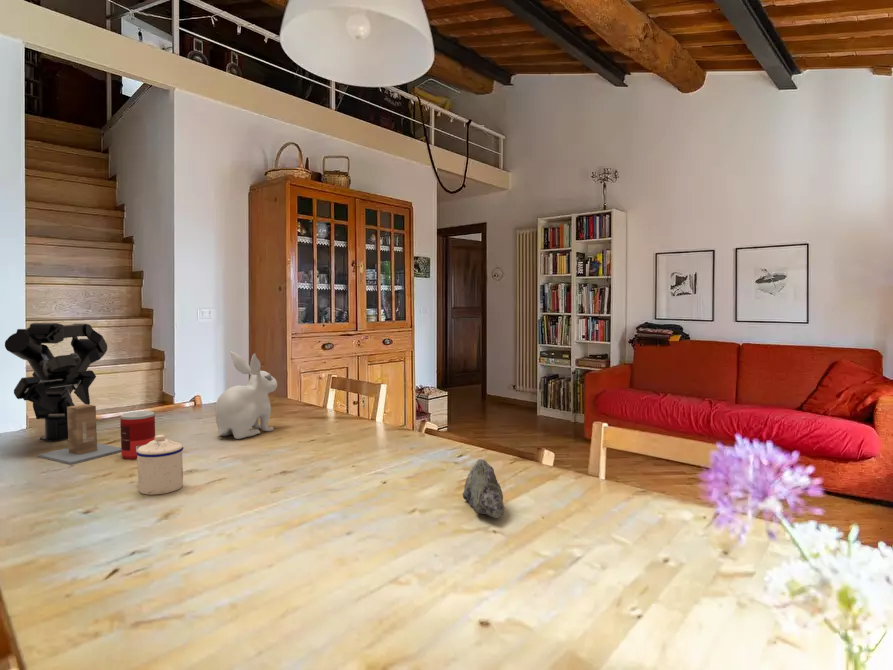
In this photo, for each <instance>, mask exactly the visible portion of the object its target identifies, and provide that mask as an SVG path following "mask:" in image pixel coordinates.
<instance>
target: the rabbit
mask: <svg viewBox="0 0 893 670" xmlns="http://www.w3.org/2000/svg"><path fill="white" fill-rule="evenodd" d="M229 353H230V356H231V361H232V363H233V366H234V367H235V369H236V370H237V372H239V373H241V374H243V375H249V376H250V377H249V380H248V381H247V383H246V385H235V386H234V385H233V386H231V387H229V388H228V389H226V390H225V391H224V392H222V393H221V394H220V395H219V396H218V398H217V400H216V403H215V423H216V426H217V431H218V435H219V436H224V437H225V436H230V435H233V438H234V439H236V440H241V439H245V438H249V437H253V436H256V435H257V434H258V435H259V434H261V431H260V430H259V429H261V430H262V431H263V432H272V431H273V432H274V430H275V429H274V427H273V426H269V420H270V417H271V414H272V413H271V412H272V405H271V401H270V397H269V393H270V394H271V393H273V392H274V391H276V389H277V387H278V381H277V379H276V378H275V377H274V376H272V375H271V373H270V372H267V371H265V370H261V367H262V366H261V365H262V364H261V362H260V359H258V357H257V353H256V352H255V353H253V354H252V356H251V360H250V362H249V363H250V364H249V363H248V362H247V361H246V360H245V358H243V357H242V356H241V355H239V354H238V353H237V352H235V351H232V350H230V351H229ZM259 419H260V420H259ZM259 421H260V424H259Z"/></svg>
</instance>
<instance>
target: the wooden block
mask: <svg viewBox="0 0 893 670" xmlns="http://www.w3.org/2000/svg"><path fill="white" fill-rule="evenodd" d="M96 406H97V405H94V404H89V405H88V404H84V403H83V404H77V405H76V404H75V406H70V407H67V419H68V439H67V440H68V441H67V442H68V448H69V453H73V454H77V455H81V454H85V453H89V452H94V451H97V443H98V439H97V438H98V434H97V433H98V432H97V431H98V430H97V410H96Z"/></svg>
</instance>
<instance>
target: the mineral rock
mask: <svg viewBox="0 0 893 670" xmlns="http://www.w3.org/2000/svg"><path fill="white" fill-rule="evenodd" d="M496 476H497V475H496V474H495V469H494V468H493V466H491V465H490V464H489V463H488V462H487V460H485V459H481V458H478V460H477V461H476V462H475V463H474V464H473V466H472V467H471V469H470V470H469V473H468V474H467V477H466V480H465V484H464V488H463V489H464V490H463V492H462V498H463V500H466V501H468V505H470V506H471V507H472V508H473V511H474V512H476V513H477V514H484V515H487V516H489V517H492V518H494V519H500V517H501V516H503V514H504V510H505V505H504V494H503V491H502V487H501V486H500V484H499V482H498V479H497V477H496Z"/></svg>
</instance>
